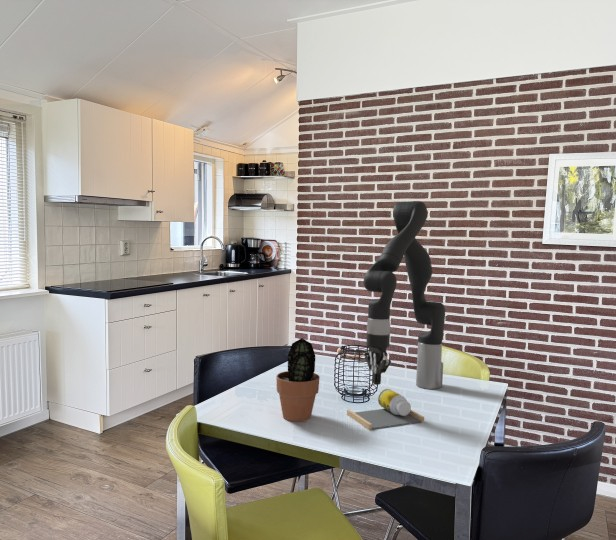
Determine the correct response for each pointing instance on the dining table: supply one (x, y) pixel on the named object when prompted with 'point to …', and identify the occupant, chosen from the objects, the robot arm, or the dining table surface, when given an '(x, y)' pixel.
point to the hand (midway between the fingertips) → (376, 384)
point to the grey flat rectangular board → (384, 418)
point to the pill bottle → (394, 402)
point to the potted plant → (298, 382)
